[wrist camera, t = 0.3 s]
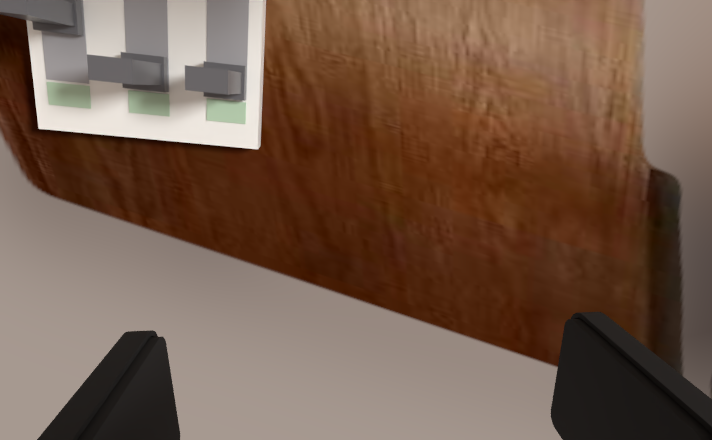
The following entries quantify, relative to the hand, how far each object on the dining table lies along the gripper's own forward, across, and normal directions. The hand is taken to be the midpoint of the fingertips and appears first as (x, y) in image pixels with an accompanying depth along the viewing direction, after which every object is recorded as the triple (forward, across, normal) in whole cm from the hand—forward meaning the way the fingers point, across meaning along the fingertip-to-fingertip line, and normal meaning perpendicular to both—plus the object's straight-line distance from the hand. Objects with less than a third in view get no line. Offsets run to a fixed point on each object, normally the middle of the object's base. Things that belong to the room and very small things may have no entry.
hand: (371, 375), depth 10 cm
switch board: (+36, +16, -12) cm, 41 cm away
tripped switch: (+33, +23, -13) cm, 42 cm away
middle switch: (+33, +17, -8) cm, 38 cm away
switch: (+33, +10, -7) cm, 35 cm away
